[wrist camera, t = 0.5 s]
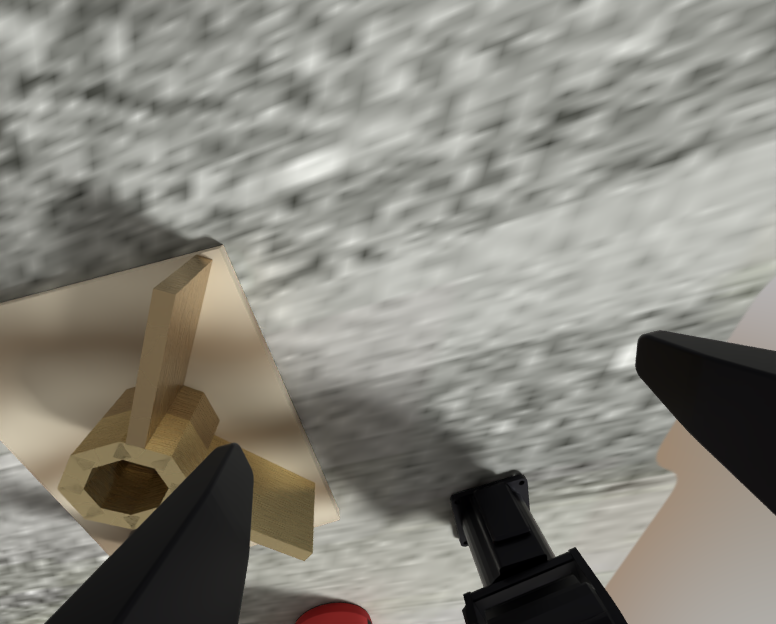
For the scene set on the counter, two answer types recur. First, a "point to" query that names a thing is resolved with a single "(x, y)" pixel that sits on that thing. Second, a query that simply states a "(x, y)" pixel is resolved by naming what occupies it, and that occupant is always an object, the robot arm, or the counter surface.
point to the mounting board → (120, 370)
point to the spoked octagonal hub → (175, 435)
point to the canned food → (335, 615)
